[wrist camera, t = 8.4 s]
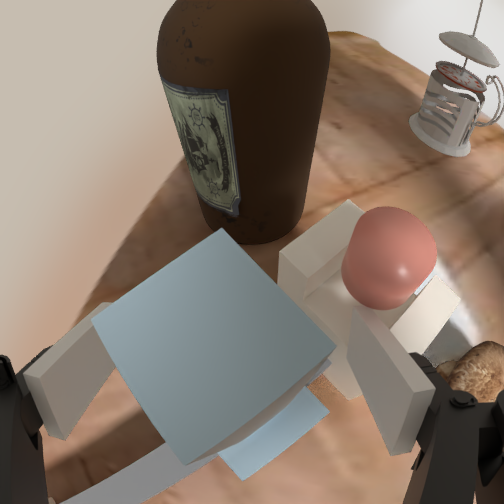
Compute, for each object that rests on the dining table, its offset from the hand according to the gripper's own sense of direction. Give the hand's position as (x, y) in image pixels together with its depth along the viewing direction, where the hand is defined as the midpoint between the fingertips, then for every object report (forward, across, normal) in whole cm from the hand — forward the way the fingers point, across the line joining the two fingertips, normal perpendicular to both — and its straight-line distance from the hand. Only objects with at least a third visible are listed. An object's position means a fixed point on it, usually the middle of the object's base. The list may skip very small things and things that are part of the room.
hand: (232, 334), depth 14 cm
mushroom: (+3, +17, -9) cm, 19 cm away
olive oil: (+17, +1, +4) cm, 18 cm away
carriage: (+3, +1, -7) cm, 8 cm away
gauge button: (0, +7, +3) cm, 7 cm away
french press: (+25, +26, +14) cm, 39 cm away
